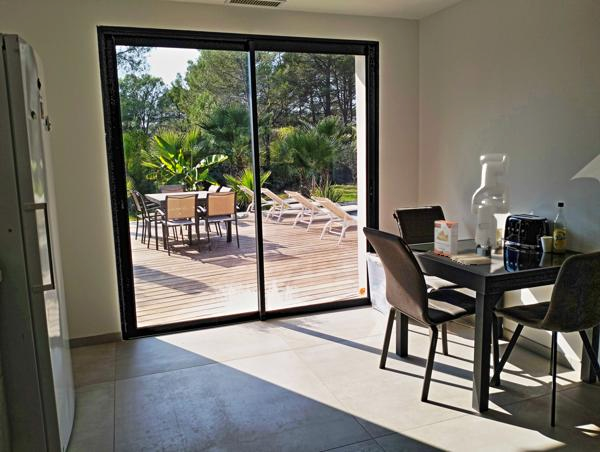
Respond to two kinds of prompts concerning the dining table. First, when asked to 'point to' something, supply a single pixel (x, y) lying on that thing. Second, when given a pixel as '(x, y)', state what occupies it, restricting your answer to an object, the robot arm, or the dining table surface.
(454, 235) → the cracker box
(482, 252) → the slate block
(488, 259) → the birch base
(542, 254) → the dining table surface
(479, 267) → the dining table surface
